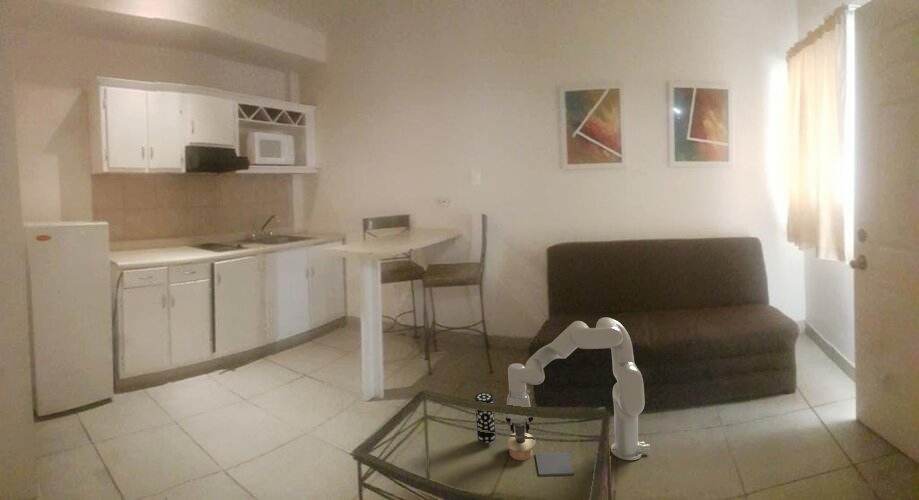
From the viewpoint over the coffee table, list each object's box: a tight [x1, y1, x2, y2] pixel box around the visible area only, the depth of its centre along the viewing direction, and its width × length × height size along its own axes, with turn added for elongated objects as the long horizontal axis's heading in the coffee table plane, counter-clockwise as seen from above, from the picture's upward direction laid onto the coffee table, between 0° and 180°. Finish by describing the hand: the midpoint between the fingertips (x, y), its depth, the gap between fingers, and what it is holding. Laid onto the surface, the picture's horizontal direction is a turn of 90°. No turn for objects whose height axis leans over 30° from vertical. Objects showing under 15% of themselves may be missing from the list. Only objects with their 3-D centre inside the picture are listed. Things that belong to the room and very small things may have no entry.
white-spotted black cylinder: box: [474, 392, 497, 444], centre depth 203 cm, size 8×8×20 cm
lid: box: [505, 422, 537, 452], centre depth 195 cm, size 13×13×8 cm
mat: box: [534, 451, 575, 477], centre depth 187 cm, size 14×14×1 cm
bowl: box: [508, 448, 534, 461], centre depth 196 cm, size 10×10×5 cm
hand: (520, 431), depth 194 cm, fingers open, 5 cm apart
